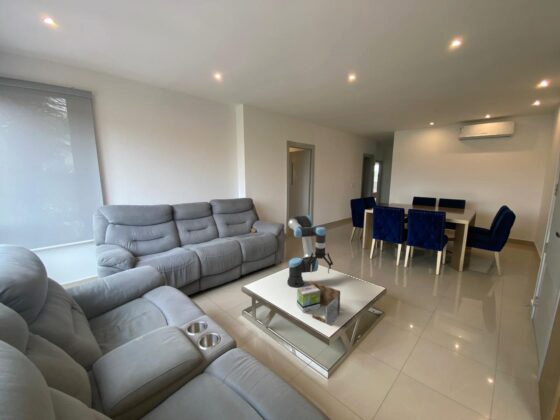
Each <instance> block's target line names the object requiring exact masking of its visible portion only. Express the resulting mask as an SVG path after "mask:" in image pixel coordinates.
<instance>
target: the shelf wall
mask: <svg viewBox="0 0 560 420" xmlns="http://www.w3.org/2000/svg"><path fill="white" fill-rule="evenodd" d="M311 285H314V286H316V287H317V288H318V289H319V290H320V306H321V305H322V306H324V307H325V308H326V307H327V306H328V305H329V304H330V303H331V302H332V301H333V300H334V299H335V298H336V297H337V296H339V306H338V311H341V310H340V309H341V290H339V289H336V288H332V287H331V286H330V287H329V286H326V285H324V284H321V283H318V282H315V281H312V280H309V281H308V286H311ZM311 316H312V319H315V320H316V321H319V322H321V323H324V324H325V318H323V317H322V316H319V315H317V314H315V313H312V315H311Z"/></svg>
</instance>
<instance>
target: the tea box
mask: <svg viewBox="0 0 560 420" xmlns="http://www.w3.org/2000/svg"><path fill="white" fill-rule="evenodd" d="M296 292H297V293H296V306H297V308H298V309H299V310H300V311H301V312H302V313H305V312H309V311H312V310H316V309H320V307H321V304H320V290H319V289H318V288H317V287H316V286H314V285H311V286H309V285H308V286H307V285H306V286H302V287H297V291H296Z"/></svg>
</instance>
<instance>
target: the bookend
mask: <svg viewBox="0 0 560 420" xmlns="http://www.w3.org/2000/svg"><path fill="white" fill-rule="evenodd" d="M338 306H339V296H337V297H336V298H335V299H334V300H333V301H332V302H331V303H330V304H329V305H328V306H327V307H326V306H325V316H324V317H325V318H324V319H325V323H324V324H326V325H328V326H331V325H332V324H333V323H334V322H335V321H336V320H337V319H338V317H339V316H340V315H341V314H342V311H341V310H340V311H338Z"/></svg>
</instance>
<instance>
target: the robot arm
mask: <svg viewBox="0 0 560 420" xmlns="http://www.w3.org/2000/svg"><path fill="white" fill-rule="evenodd" d="M287 226H288V227H289V229H291V230H293V235H294V237H295V238H301V241H302V246H303V257H302V258H300V257H293V258H291V259H290V260H289V261H288V269H289V271H288V273H289V274H288V278H287V285H288V286H289V287H291V288H302V287H304V278H303V273H311V274H312V273H315V272H316V271H318V269H319V261H318V259H322V260H324V261H325V262H326V263H327V274H330V270H331V266H332V265H333V266H334V263H333V260H332V257H330V253H329V252H326V239H327V238H326V237H327V230H326V229H327V228H326V227H323V226H318V225H314V224H313V218H312V217H311V216H310V215H293V216H291V217H290V218H289V219H288V220H287ZM312 237H315V249H313V244H312V243H313V241H312ZM314 251H315V252H314ZM326 256H327V257H326Z"/></svg>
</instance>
